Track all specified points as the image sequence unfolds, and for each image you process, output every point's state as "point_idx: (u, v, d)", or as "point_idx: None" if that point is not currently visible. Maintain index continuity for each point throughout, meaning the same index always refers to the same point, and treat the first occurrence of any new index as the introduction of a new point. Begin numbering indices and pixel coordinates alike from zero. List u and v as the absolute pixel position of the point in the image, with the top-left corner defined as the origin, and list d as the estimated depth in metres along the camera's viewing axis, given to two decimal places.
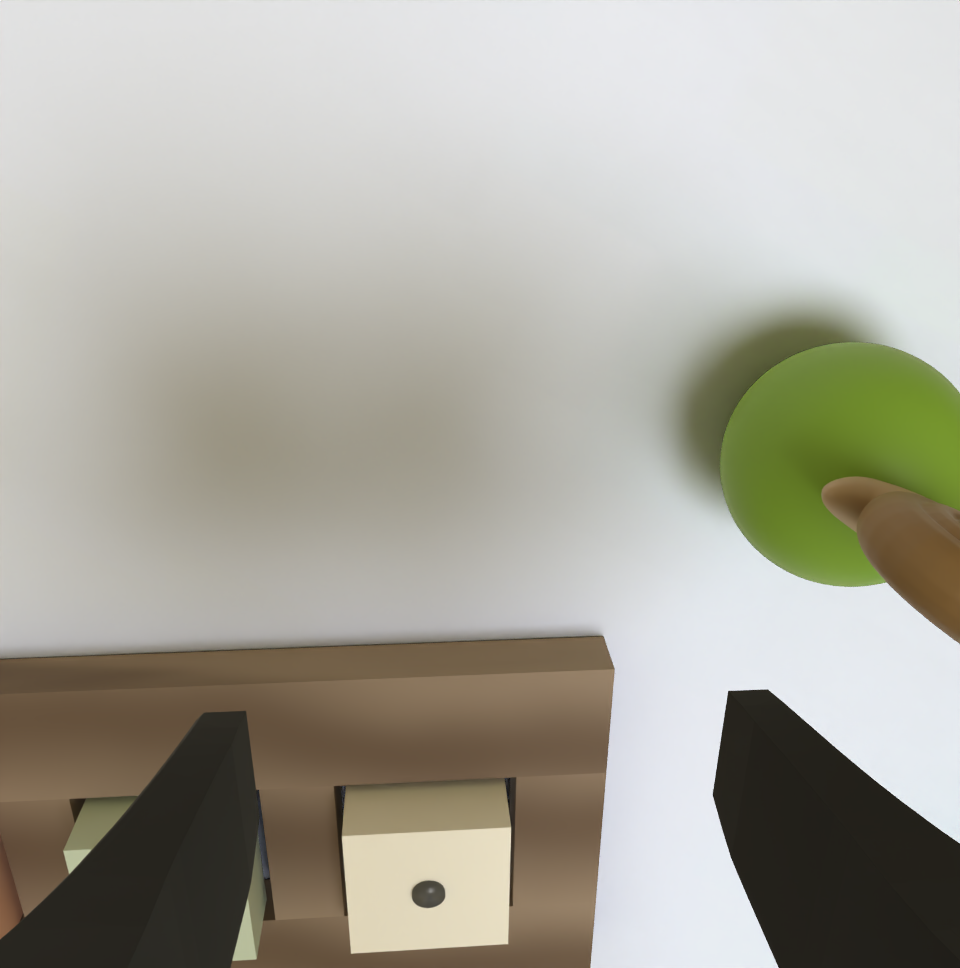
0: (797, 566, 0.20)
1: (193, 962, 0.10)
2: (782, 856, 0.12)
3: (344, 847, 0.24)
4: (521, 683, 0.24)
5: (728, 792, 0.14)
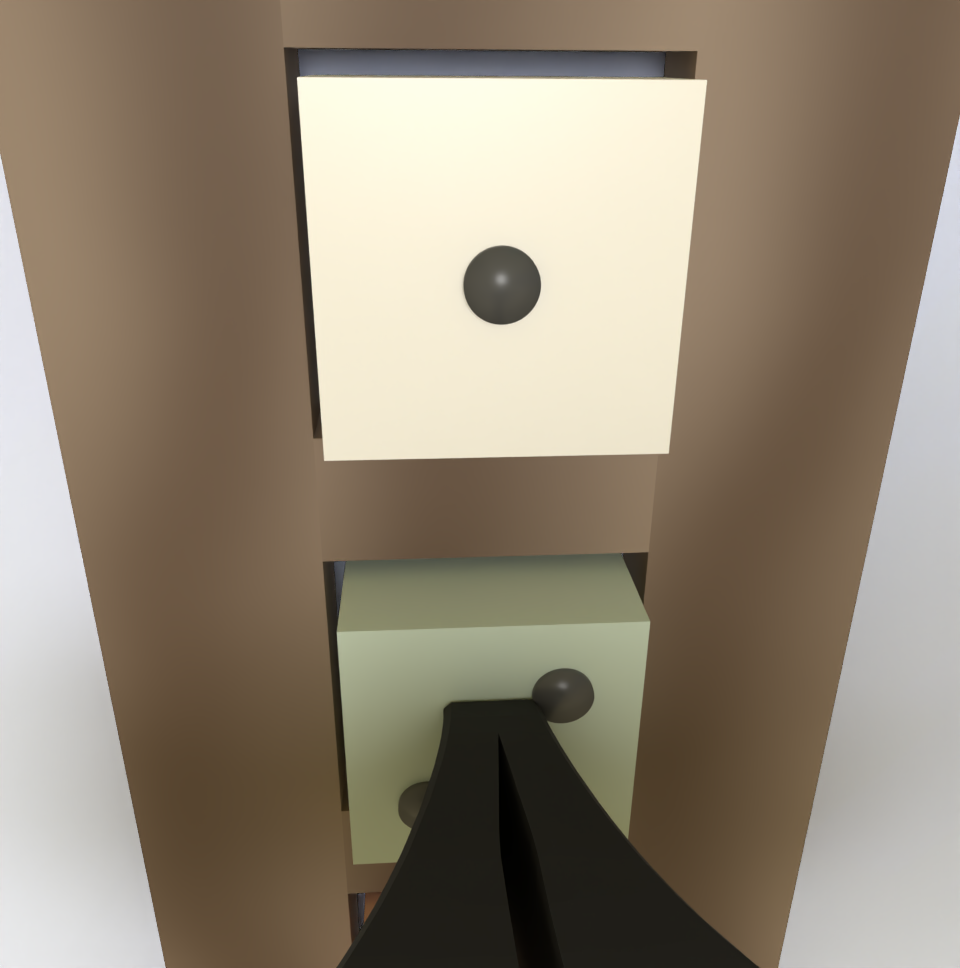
0: None
1: None
2: (513, 870, 0.12)
3: (354, 457, 0.11)
4: (6, 38, 0.11)
5: None
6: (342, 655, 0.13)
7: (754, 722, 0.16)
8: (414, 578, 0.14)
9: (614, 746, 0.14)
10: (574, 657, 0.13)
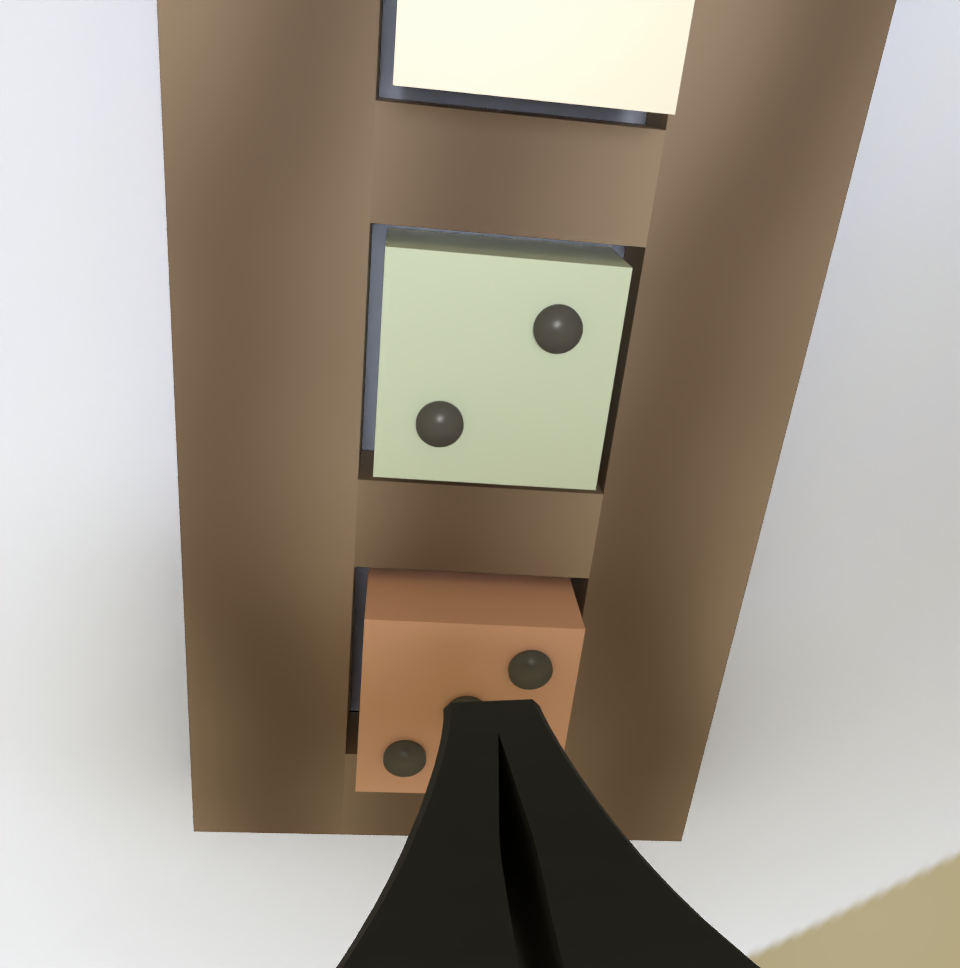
0: None
1: None
2: (513, 870, 0.12)
3: (418, 84, 0.14)
4: None
5: None
6: (387, 269, 0.16)
7: (720, 429, 0.18)
8: (444, 237, 0.17)
9: (594, 385, 0.17)
10: (570, 295, 0.16)
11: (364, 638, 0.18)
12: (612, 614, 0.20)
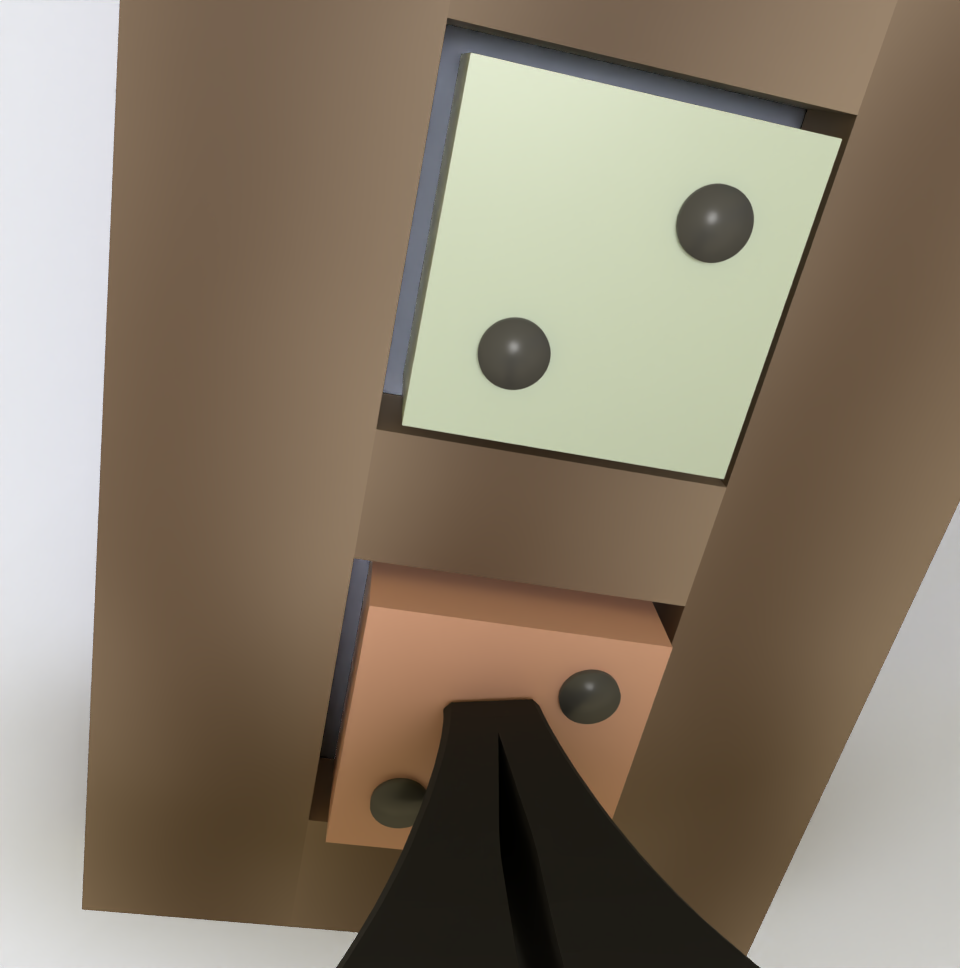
0: None
1: None
2: (513, 870, 0.12)
3: None
4: None
5: None
6: (468, 91, 0.10)
7: (907, 409, 0.13)
8: None
9: (751, 319, 0.11)
10: (742, 170, 0.11)
11: (366, 632, 0.13)
12: (708, 659, 0.14)
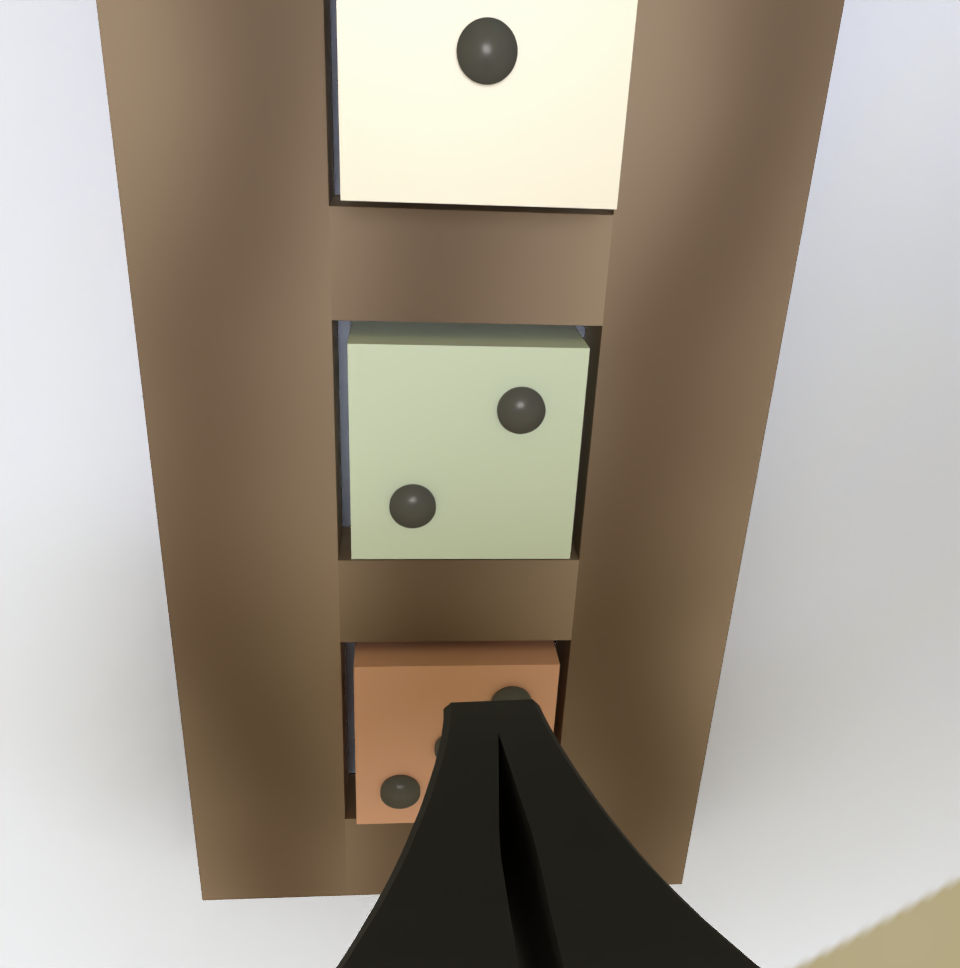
0: None
1: None
2: (513, 870, 0.12)
3: (364, 197, 0.14)
4: None
5: None
6: (350, 364, 0.16)
7: (689, 491, 0.19)
8: (407, 325, 0.18)
9: (561, 460, 0.17)
10: (531, 377, 0.17)
11: (354, 684, 0.19)
12: (596, 672, 0.20)
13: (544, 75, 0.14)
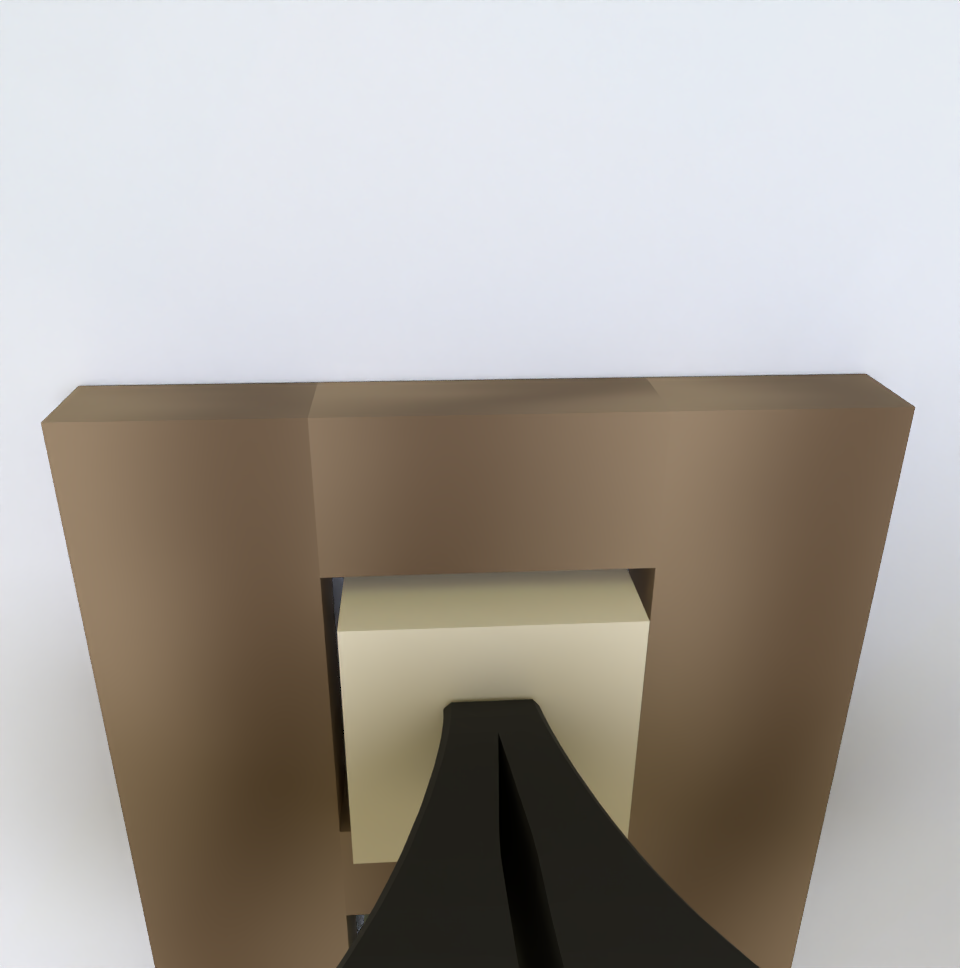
0: None
1: None
2: (513, 871, 0.12)
3: (377, 861, 0.14)
4: (97, 581, 0.13)
5: None
6: None
7: None
8: None
9: None
10: None
11: None
12: None
13: None
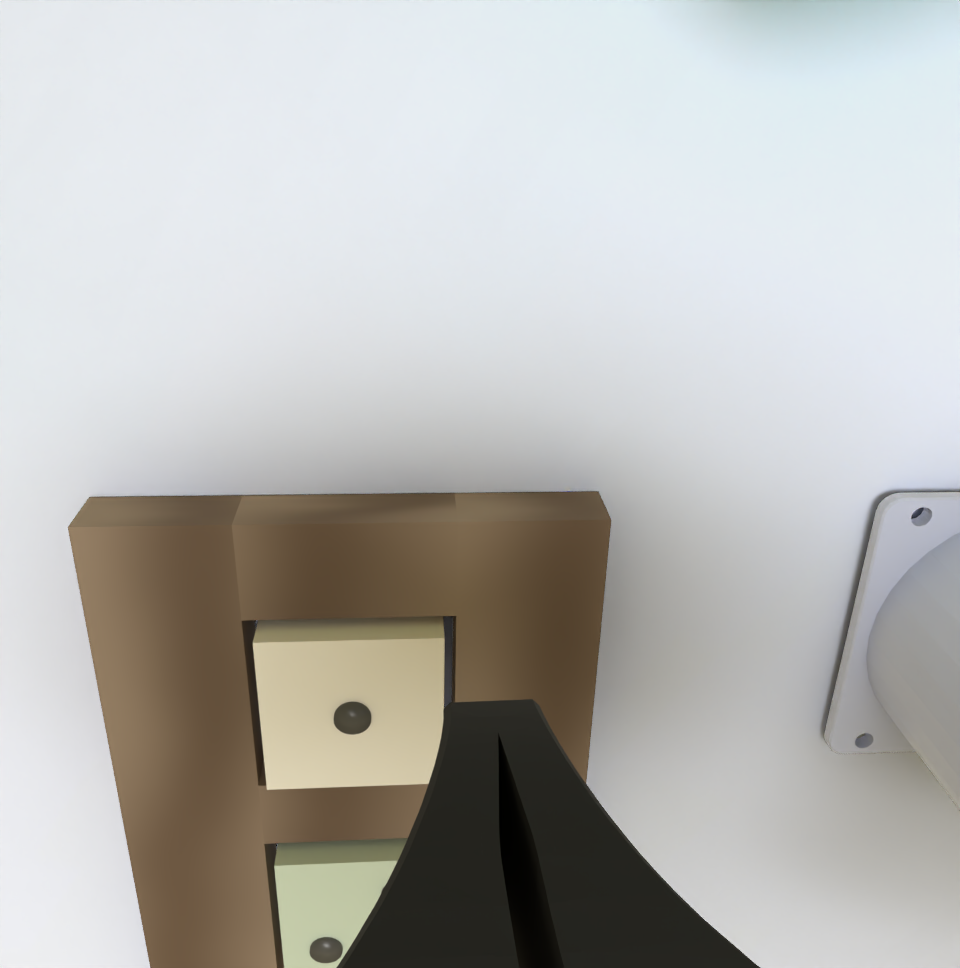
0: None
1: None
2: (513, 871, 0.12)
3: (282, 788, 0.23)
4: (100, 621, 0.21)
5: None
6: (277, 876, 0.24)
7: None
8: None
9: None
10: None
11: None
12: None
13: (389, 725, 0.22)
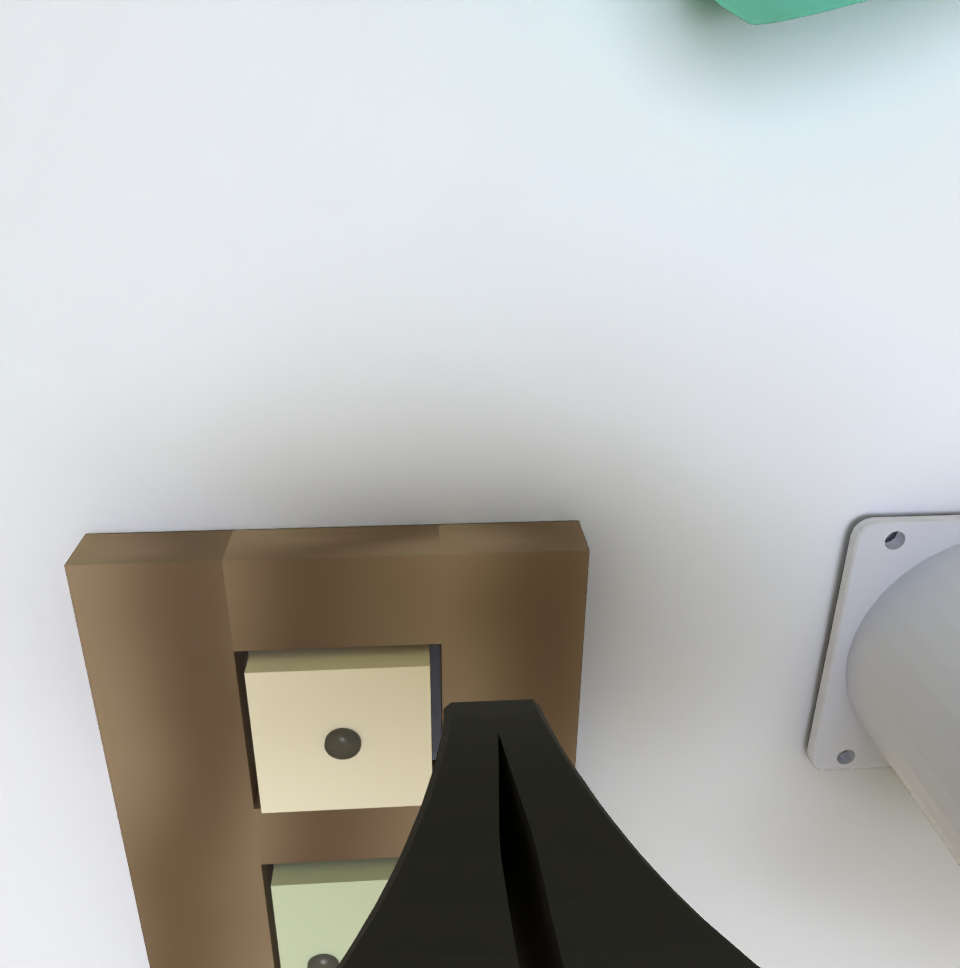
0: None
1: None
2: (513, 870, 0.12)
3: (276, 811, 0.23)
4: (97, 654, 0.22)
5: None
6: (274, 896, 0.25)
7: None
8: None
9: None
10: None
11: None
12: None
13: (379, 749, 0.23)
